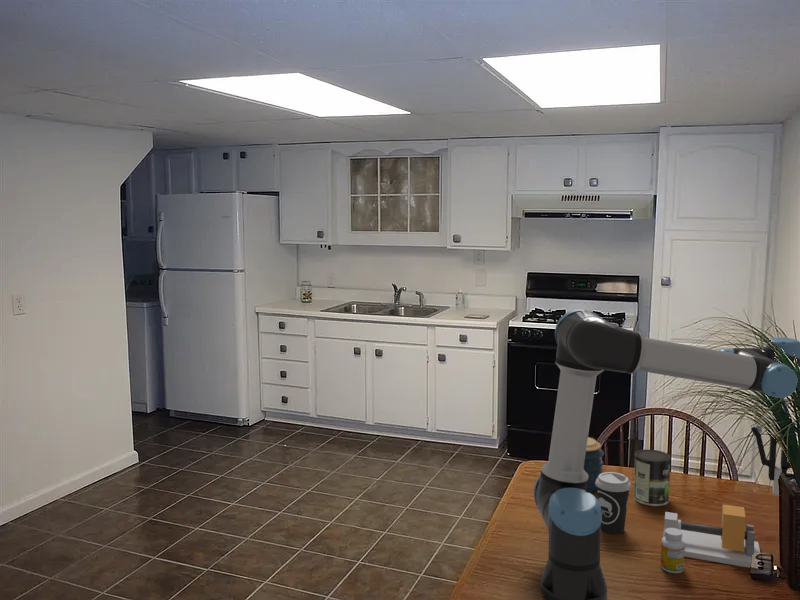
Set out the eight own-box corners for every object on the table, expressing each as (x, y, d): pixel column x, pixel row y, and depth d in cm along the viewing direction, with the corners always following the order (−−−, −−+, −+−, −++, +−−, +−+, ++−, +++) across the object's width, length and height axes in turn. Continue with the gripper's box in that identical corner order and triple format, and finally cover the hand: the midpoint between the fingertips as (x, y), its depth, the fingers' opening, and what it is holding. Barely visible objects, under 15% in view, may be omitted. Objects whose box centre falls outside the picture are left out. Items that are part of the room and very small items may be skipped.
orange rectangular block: (743, 551, 173) (745, 517, 172) (721, 548, 175) (723, 514, 174) (742, 540, 179) (744, 507, 177) (720, 537, 180) (722, 504, 179)
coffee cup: (632, 538, 186) (633, 485, 184) (595, 535, 188) (596, 483, 186) (627, 522, 195) (629, 472, 193) (592, 519, 197) (594, 469, 195)
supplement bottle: (660, 560, 174) (661, 524, 173) (683, 564, 172) (685, 528, 171) (660, 571, 169) (661, 534, 168) (683, 575, 167) (685, 538, 166)
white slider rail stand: (762, 569, 169) (763, 540, 168) (662, 552, 178) (663, 524, 177) (757, 547, 180) (759, 519, 179) (664, 532, 189) (665, 505, 188)
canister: (554, 480, 225) (555, 428, 222) (591, 477, 227) (592, 425, 225) (571, 497, 212) (572, 442, 210) (610, 493, 215) (611, 439, 212)
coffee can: (671, 496, 212) (673, 452, 210) (665, 509, 203) (667, 463, 201) (637, 489, 217) (638, 446, 215) (629, 501, 208) (631, 457, 206)
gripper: (809, 399, 169) (804, 490, 172) (750, 394, 174) (746, 483, 177) (814, 407, 162) (808, 502, 165) (752, 403, 167) (748, 495, 170)
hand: (776, 492), depth 171 cm, fingers closed
